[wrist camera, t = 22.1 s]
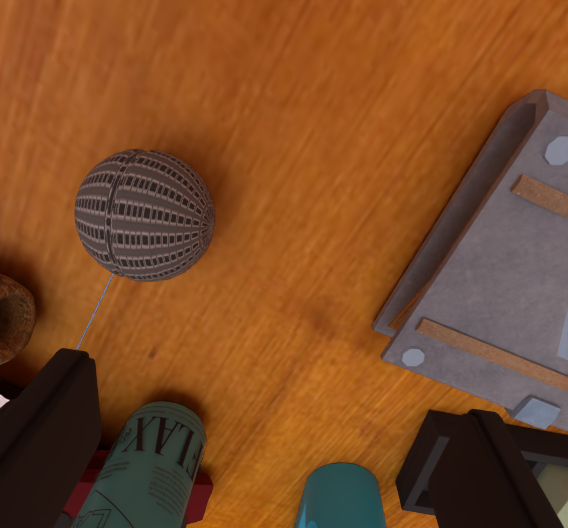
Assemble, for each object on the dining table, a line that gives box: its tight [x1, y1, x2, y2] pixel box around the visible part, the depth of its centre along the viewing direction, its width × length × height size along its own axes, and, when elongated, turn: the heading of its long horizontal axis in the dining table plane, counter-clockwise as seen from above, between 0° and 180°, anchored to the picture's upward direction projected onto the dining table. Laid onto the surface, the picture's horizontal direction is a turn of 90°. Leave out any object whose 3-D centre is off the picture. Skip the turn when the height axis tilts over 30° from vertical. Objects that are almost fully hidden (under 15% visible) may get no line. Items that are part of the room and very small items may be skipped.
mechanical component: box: [54, 450, 213, 528], centre depth 28 cm, size 23×4×6 cm
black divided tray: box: [396, 410, 568, 515], centre depth 31 cm, size 16×9×2 cm, turn 79°
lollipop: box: [75, 149, 215, 350], centre depth 25 cm, size 10×20×7 cm
